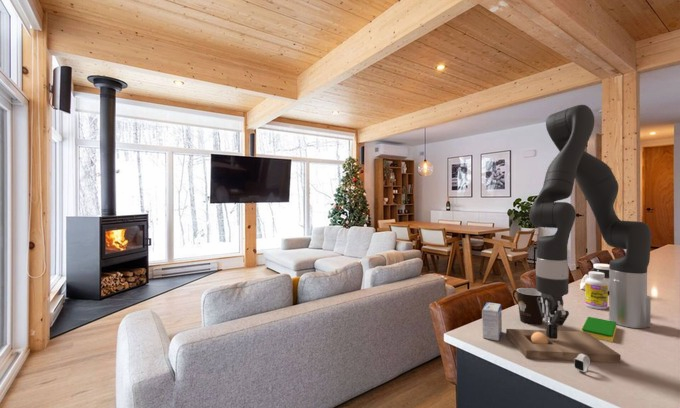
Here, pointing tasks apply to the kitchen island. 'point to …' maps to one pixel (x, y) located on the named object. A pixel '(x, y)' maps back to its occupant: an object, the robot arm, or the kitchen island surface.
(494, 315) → the medicine box
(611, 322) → the dish sponge
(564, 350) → the walnut board
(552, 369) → the kitchen island surface
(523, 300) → the coffee mug
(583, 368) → the smartwatch
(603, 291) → the supplement bottle
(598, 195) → the robot arm
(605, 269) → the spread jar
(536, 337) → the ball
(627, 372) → the kitchen island surface
